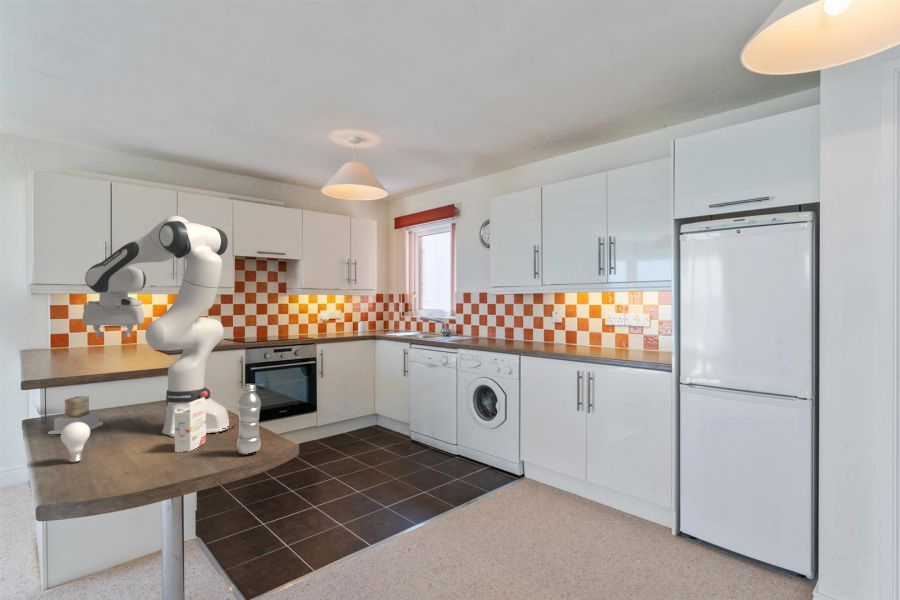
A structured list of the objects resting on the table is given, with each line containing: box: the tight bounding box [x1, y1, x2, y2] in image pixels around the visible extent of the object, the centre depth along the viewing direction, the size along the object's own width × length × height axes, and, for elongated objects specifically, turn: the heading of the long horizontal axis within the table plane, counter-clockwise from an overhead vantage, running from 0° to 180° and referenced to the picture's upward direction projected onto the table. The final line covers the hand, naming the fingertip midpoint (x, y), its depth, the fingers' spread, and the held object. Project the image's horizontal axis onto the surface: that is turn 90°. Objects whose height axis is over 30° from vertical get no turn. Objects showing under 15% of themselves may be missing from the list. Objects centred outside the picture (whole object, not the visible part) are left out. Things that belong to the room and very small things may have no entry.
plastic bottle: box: [236, 383, 262, 455], centre depth 133 cm, size 6×7×20 cm
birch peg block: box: [64, 395, 90, 418], centre depth 159 cm, size 4×6×10 cm, turn 8°
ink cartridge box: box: [174, 397, 207, 453], centre depth 138 cm, size 9×5×15 cm, turn 179°
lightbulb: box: [60, 422, 91, 464], centre depth 126 cm, size 6×6×11 cm
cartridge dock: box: [47, 411, 104, 435], centre depth 159 cm, size 10×12×5 cm
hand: (113, 337), depth 175 cm, fingers open, 8 cm apart
